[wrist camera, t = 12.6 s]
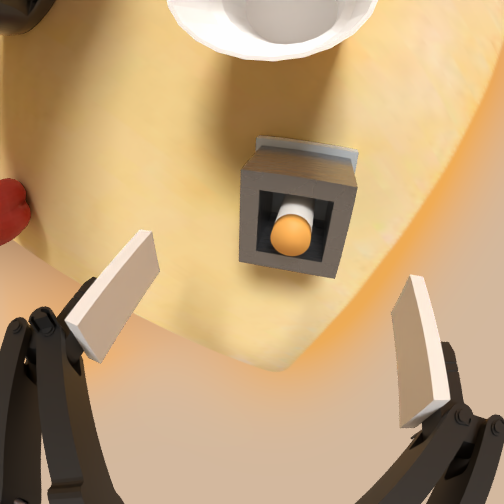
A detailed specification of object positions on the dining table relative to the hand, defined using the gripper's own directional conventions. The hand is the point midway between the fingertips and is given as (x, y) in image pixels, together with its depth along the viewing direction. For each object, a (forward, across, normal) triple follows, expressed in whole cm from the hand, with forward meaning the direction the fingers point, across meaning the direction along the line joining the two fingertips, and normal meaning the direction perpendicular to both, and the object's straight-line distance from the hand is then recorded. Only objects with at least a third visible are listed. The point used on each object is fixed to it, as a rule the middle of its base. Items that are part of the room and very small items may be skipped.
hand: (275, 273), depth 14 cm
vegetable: (+13, -42, -6) cm, 44 cm away
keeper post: (+12, 0, -1) cm, 12 cm away
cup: (+13, -2, +14) cm, 19 cm away
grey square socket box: (+11, 0, -1) cm, 11 cm away
